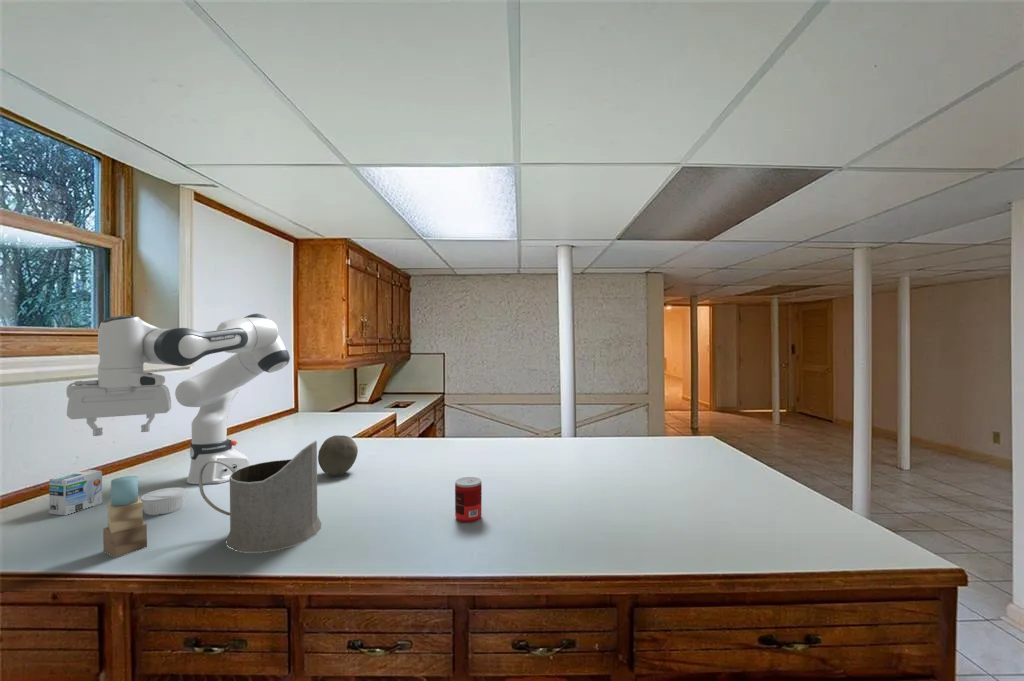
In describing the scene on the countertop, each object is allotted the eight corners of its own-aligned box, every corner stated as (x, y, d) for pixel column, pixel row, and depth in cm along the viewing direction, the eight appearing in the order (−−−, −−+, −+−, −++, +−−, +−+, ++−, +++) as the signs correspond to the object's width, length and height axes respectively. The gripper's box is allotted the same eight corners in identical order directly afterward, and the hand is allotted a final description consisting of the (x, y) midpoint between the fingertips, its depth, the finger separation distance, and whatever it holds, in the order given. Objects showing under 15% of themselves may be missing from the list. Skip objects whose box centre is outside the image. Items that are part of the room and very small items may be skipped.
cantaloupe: (349, 480, 172) (349, 440, 171) (311, 480, 172) (311, 440, 171) (362, 469, 186) (362, 432, 185) (327, 469, 186) (327, 432, 186)
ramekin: (136, 519, 135) (136, 502, 135) (145, 507, 145) (145, 490, 145) (182, 513, 141) (182, 495, 140) (188, 501, 150) (188, 485, 150)
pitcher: (301, 552, 115) (300, 452, 115) (170, 555, 114) (169, 454, 113) (333, 515, 138) (332, 432, 138) (224, 517, 137) (224, 433, 136)
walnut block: (134, 541, 121) (134, 519, 121) (146, 547, 118) (146, 524, 118) (103, 552, 115) (103, 528, 115) (115, 558, 112) (115, 533, 112)
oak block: (138, 519, 121) (138, 496, 121) (142, 525, 117) (142, 502, 117) (107, 526, 116) (107, 502, 116) (111, 533, 112) (111, 509, 112)
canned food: (485, 514, 139) (485, 478, 139) (474, 524, 131) (474, 486, 131) (462, 511, 141) (462, 475, 141) (450, 521, 134) (450, 483, 134)
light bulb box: (65, 516, 138) (65, 480, 138) (48, 514, 139) (47, 479, 139) (103, 503, 148) (103, 470, 148) (87, 501, 150) (86, 468, 150)
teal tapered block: (130, 498, 120) (130, 475, 120) (142, 500, 118) (142, 477, 118) (106, 504, 115) (106, 480, 115) (118, 507, 113) (118, 483, 113)
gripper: (61, 382, 109) (62, 440, 109) (168, 378, 119) (168, 431, 119) (71, 380, 115) (71, 435, 115) (172, 376, 124) (172, 427, 125)
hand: (122, 433), depth 117 cm, fingers open, 8 cm apart
